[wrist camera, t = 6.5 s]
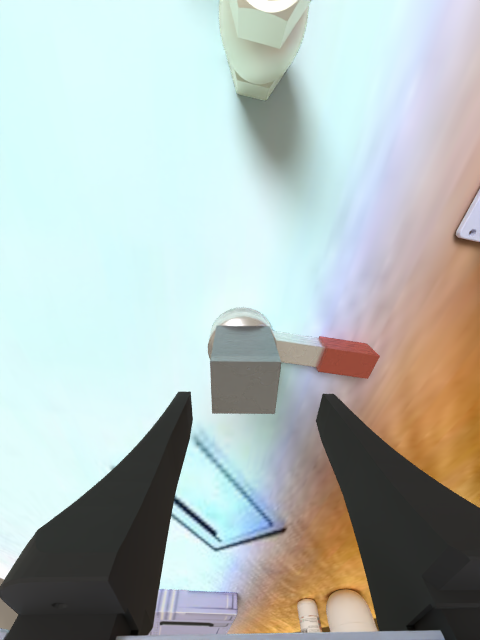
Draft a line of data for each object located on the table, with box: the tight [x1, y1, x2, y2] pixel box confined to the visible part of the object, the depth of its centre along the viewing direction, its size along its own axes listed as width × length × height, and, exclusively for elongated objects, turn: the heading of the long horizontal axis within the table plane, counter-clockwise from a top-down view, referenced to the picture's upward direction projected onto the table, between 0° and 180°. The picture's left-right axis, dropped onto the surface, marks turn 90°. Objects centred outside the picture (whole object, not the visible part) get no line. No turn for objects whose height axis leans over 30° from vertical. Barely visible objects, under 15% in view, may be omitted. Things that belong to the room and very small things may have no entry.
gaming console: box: [148, 589, 237, 635], centre depth 50 cm, size 18×4×20 cm
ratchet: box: [208, 308, 380, 379], centre depth 20 cm, size 16×6×5 cm, turn 80°
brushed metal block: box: [210, 325, 281, 414], centre depth 17 cm, size 4×4×5 cm
